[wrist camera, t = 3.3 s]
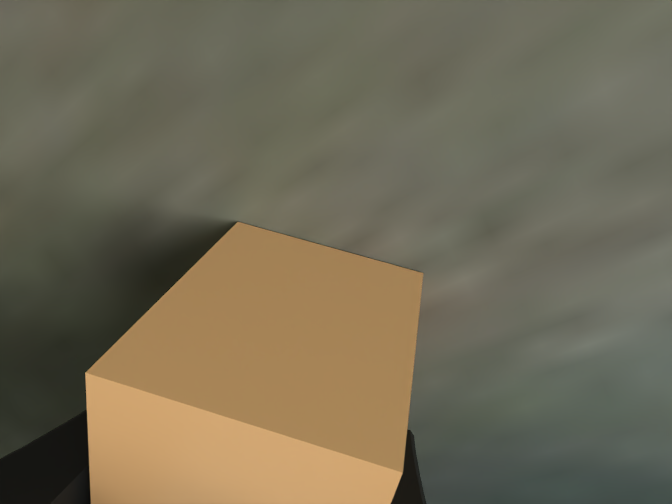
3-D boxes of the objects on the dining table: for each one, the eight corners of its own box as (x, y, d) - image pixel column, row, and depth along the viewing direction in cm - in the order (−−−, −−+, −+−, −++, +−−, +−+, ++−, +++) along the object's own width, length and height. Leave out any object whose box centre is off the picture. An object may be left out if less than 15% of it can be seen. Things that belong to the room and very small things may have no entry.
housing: (423, 273, 10) (402, 472, 6) (349, 499, 14) (300, 737, 9) (237, 222, 11) (85, 372, 6) (209, 454, 14) (97, 661, 9)
